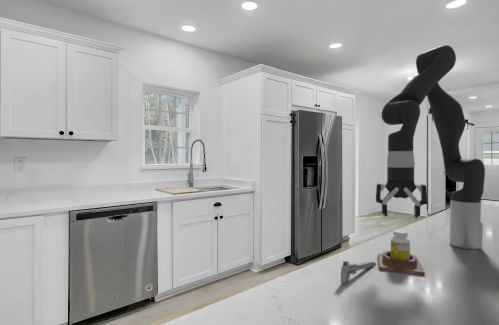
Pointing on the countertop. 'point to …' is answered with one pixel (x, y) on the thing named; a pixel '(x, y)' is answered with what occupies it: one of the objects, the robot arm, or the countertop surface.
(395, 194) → the robot arm
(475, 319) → the countertop surface
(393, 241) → the supplement bottle
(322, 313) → the countertop surface
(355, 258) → the countertop surface
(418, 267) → the bottle holder
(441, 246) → the countertop surface
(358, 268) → the caliper
